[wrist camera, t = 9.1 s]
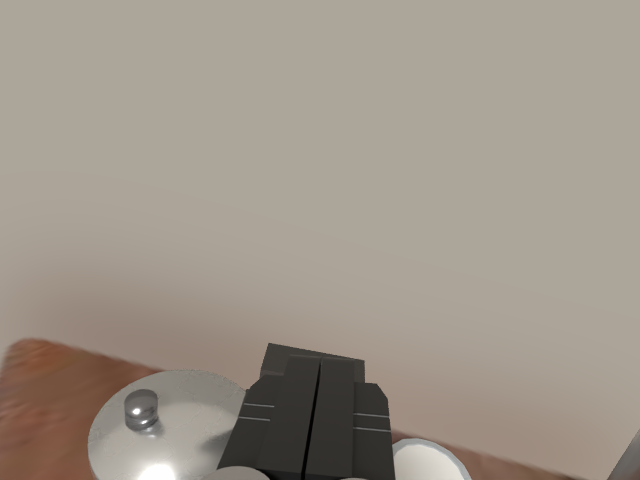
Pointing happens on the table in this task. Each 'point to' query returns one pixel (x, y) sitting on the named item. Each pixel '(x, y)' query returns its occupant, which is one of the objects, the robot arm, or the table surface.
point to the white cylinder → (426, 461)
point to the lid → (176, 421)
